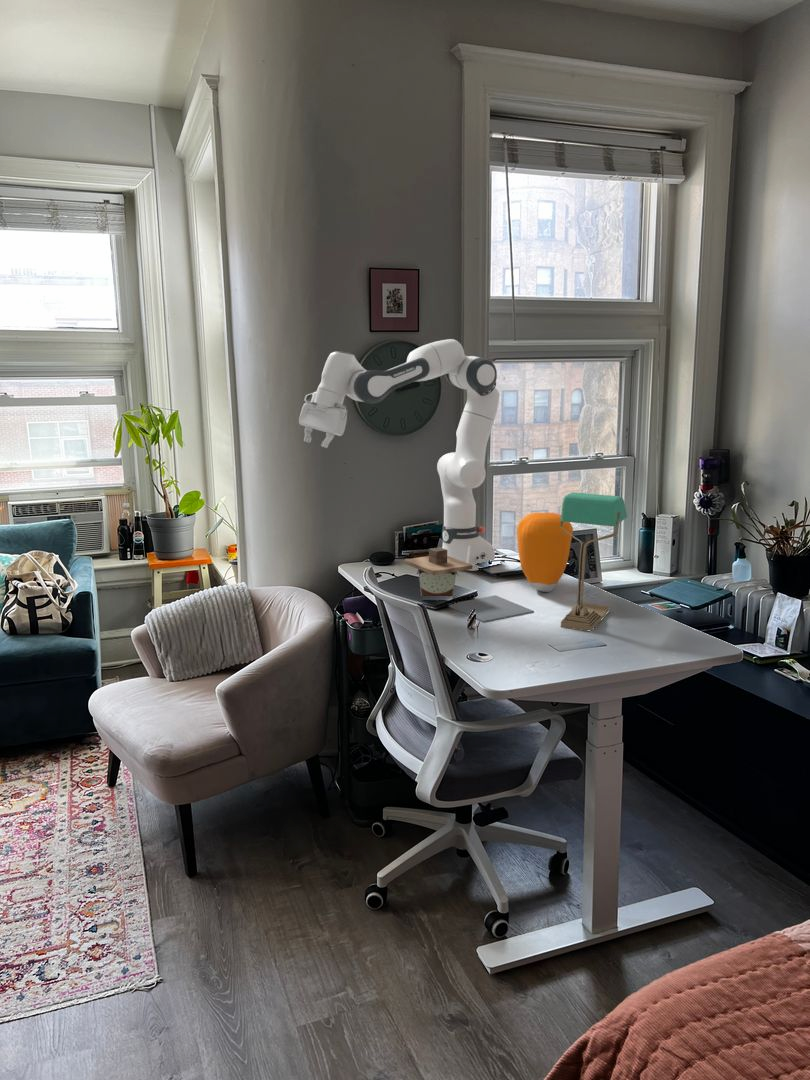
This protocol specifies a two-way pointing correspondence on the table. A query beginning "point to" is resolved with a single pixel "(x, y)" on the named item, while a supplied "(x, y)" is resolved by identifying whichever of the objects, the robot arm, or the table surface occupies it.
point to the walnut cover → (438, 562)
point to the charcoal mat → (490, 608)
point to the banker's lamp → (586, 512)
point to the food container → (437, 584)
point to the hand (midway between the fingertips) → (315, 444)
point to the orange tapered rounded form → (543, 548)
